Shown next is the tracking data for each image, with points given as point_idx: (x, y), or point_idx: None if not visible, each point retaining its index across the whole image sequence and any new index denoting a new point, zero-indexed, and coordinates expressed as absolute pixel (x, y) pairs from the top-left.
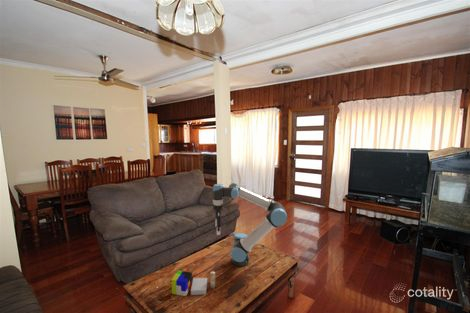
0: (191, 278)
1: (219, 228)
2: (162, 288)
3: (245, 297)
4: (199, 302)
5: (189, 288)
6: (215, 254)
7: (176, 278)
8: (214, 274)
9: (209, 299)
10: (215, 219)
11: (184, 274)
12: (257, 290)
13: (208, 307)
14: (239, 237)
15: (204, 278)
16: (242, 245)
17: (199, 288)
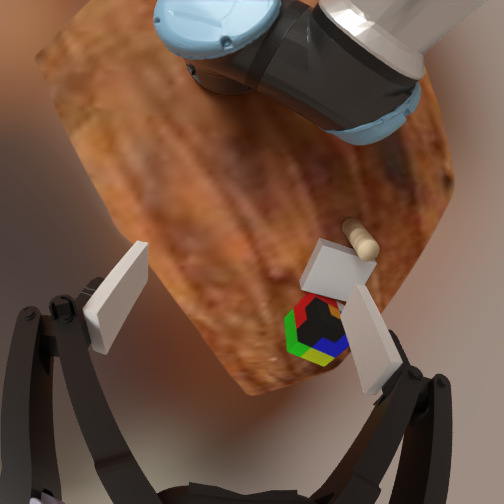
0: (319, 305)
1: (405, 359)
2: (285, 351)
3: (438, 146)
4: (387, 278)
5: (328, 298)
6: (142, 157)
7: (325, 357)
8: (378, 245)
9: (394, 251)
10: (99, 349)
11: (319, 338)
12: (430, 92)
13: (414, 260)
14: (265, 21)
15: (321, 255)
16: (420, 77)
17: (359, 280)
